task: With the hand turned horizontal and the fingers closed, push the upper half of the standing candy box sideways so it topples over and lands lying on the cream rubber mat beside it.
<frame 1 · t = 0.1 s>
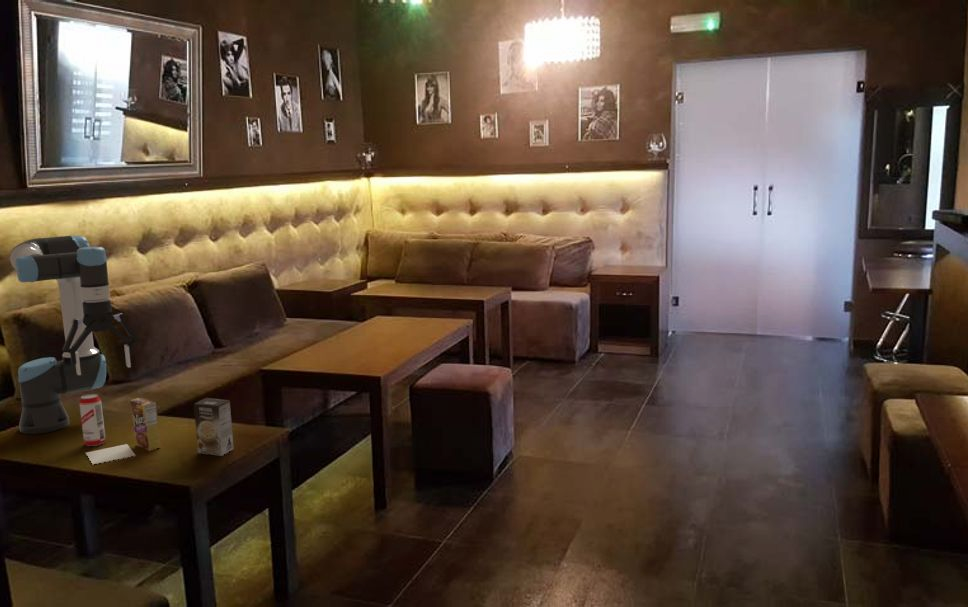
hand: (104, 370, 236), 28 cm above the table, tool pointing down, fingers open, 13 cm apart
coffee box: (216, 452, 245), on the table
candy box: (148, 447, 251), on the table
mat: (110, 454, 245), on the table
beer can: (95, 444, 255), on the table
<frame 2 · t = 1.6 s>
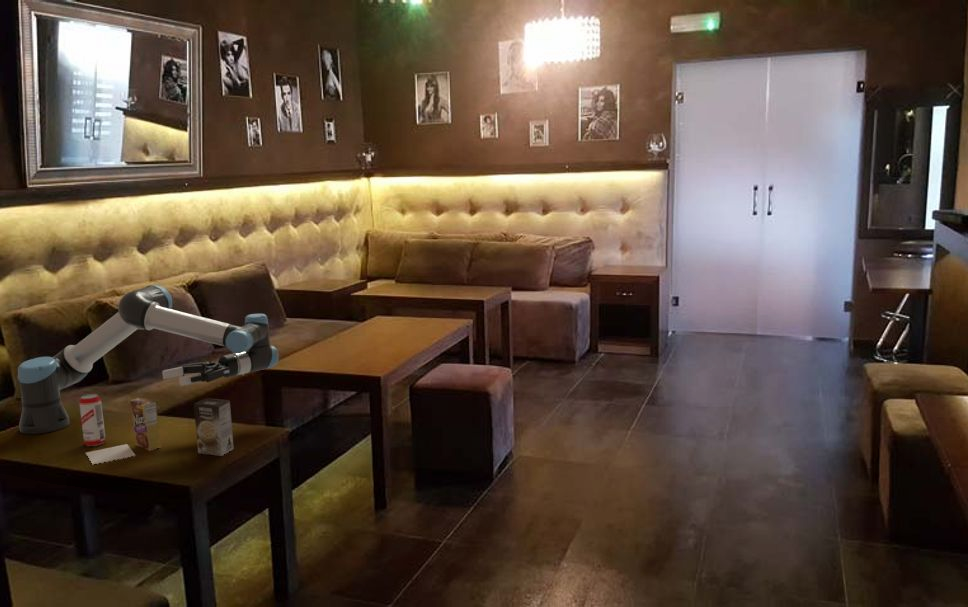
hand: (171, 378, 254), 20 cm above the table, tool horizontal, fingers open, 12 cm apart
nothing on the table moved.
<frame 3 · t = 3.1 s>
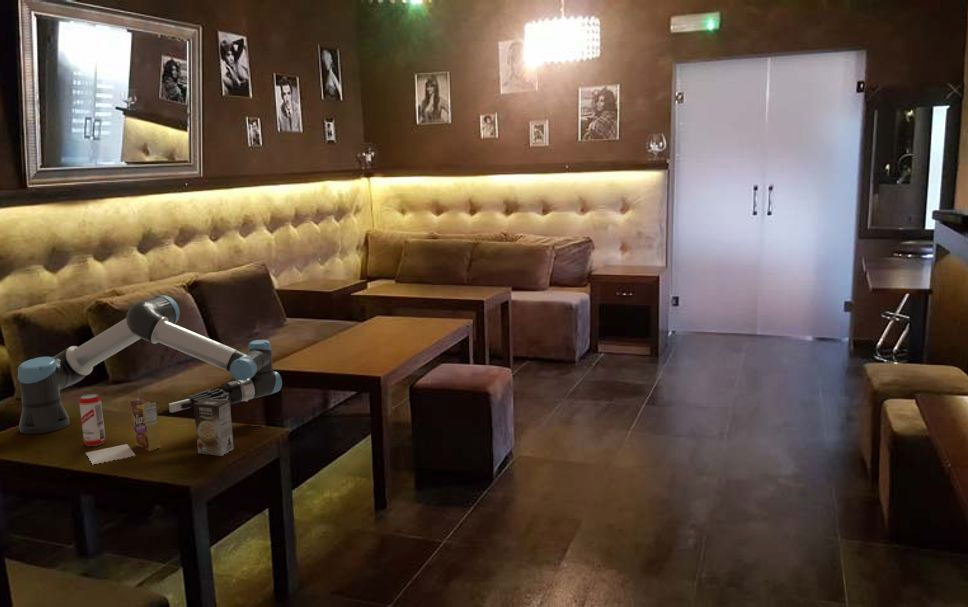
hand: (170, 408, 254), 11 cm above the table, tool horizontal, fingers closed
nothing on the table moved.
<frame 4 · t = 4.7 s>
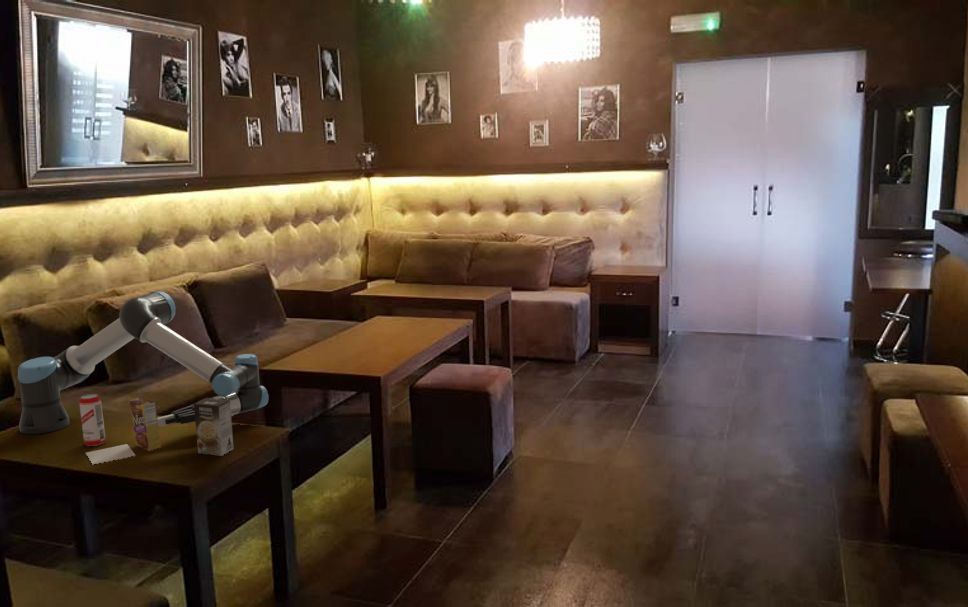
hand: (153, 423, 251), 7 cm above the table, tool horizontal, fingers closed
candy box: (147, 447, 251), on the table, touching gripper
everything else where it was.
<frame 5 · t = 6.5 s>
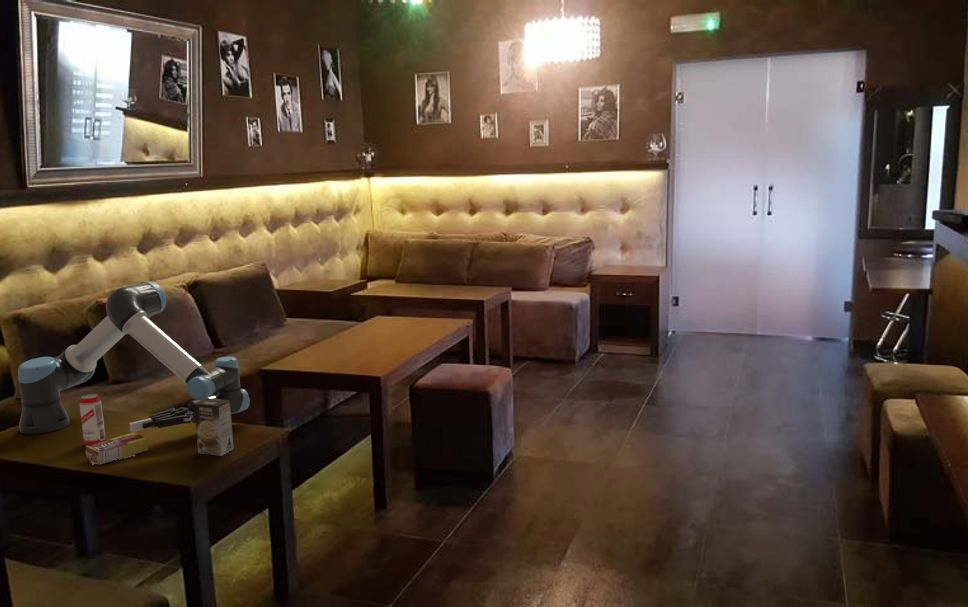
hand: (130, 427, 246), 7 cm above the table, tool horizontal, fingers closed
candy box: (142, 441, 249), point 2 cm above the table, touching mat
everything else where it was.
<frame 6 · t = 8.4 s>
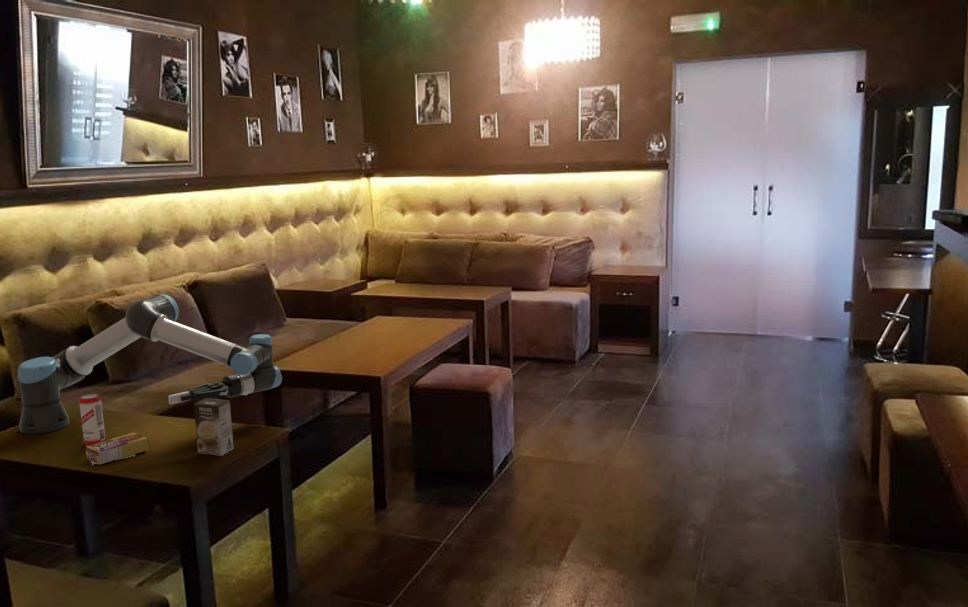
hand: (169, 400, 254), 13 cm above the table, tool horizontal, fingers closed
nothing on the table moved.
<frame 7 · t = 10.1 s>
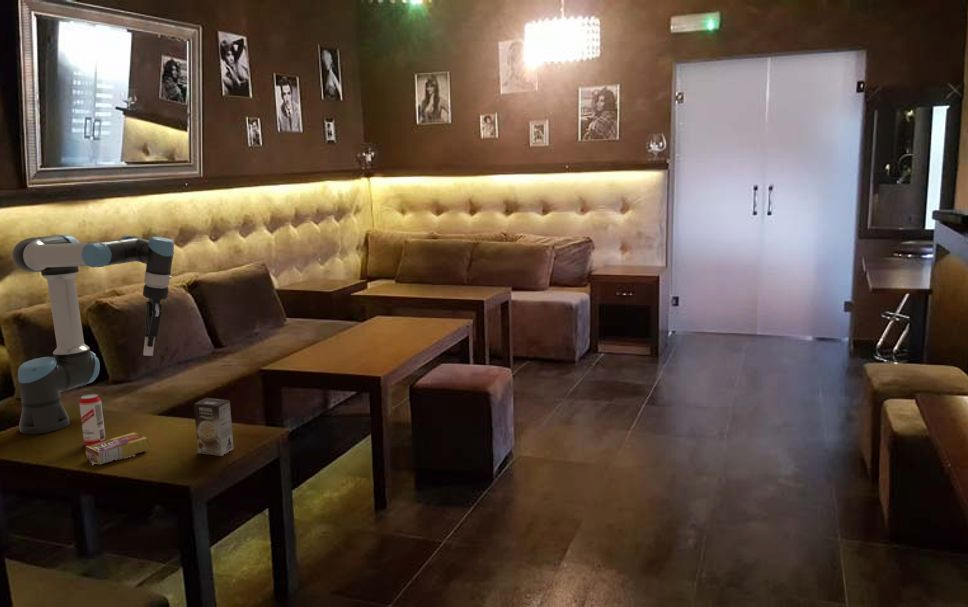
hand: (147, 354, 260), 26 cm above the table, tool pointing down, fingers closed
nothing on the table moved.
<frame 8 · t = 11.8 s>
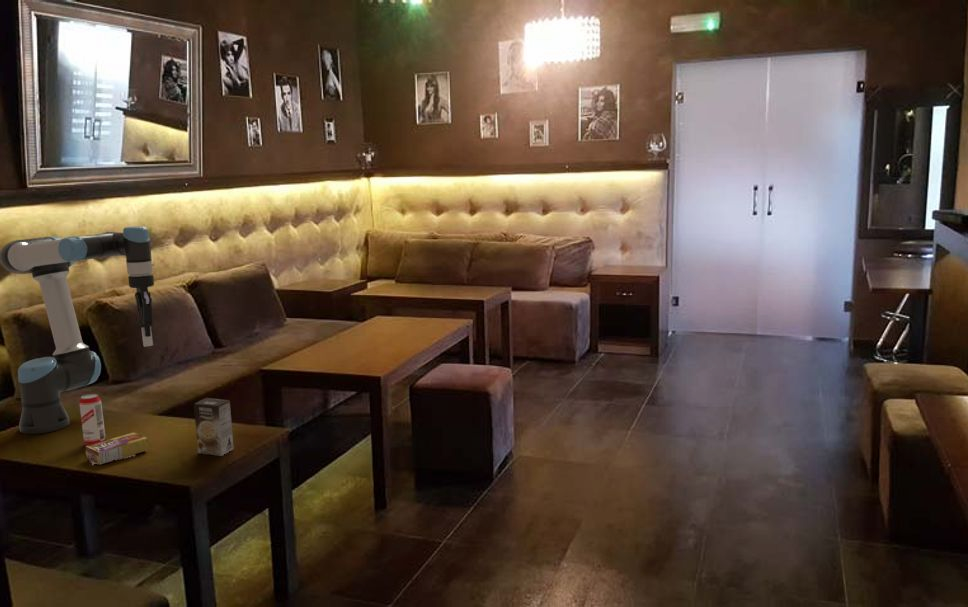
hand: (148, 345, 260), 29 cm above the table, tool pointing down, fingers closed
nothing on the table moved.
at the end: candy box tilted 89°; candy box inside the target area (8.4 cm from its centre), point 2.3 cm above the table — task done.
